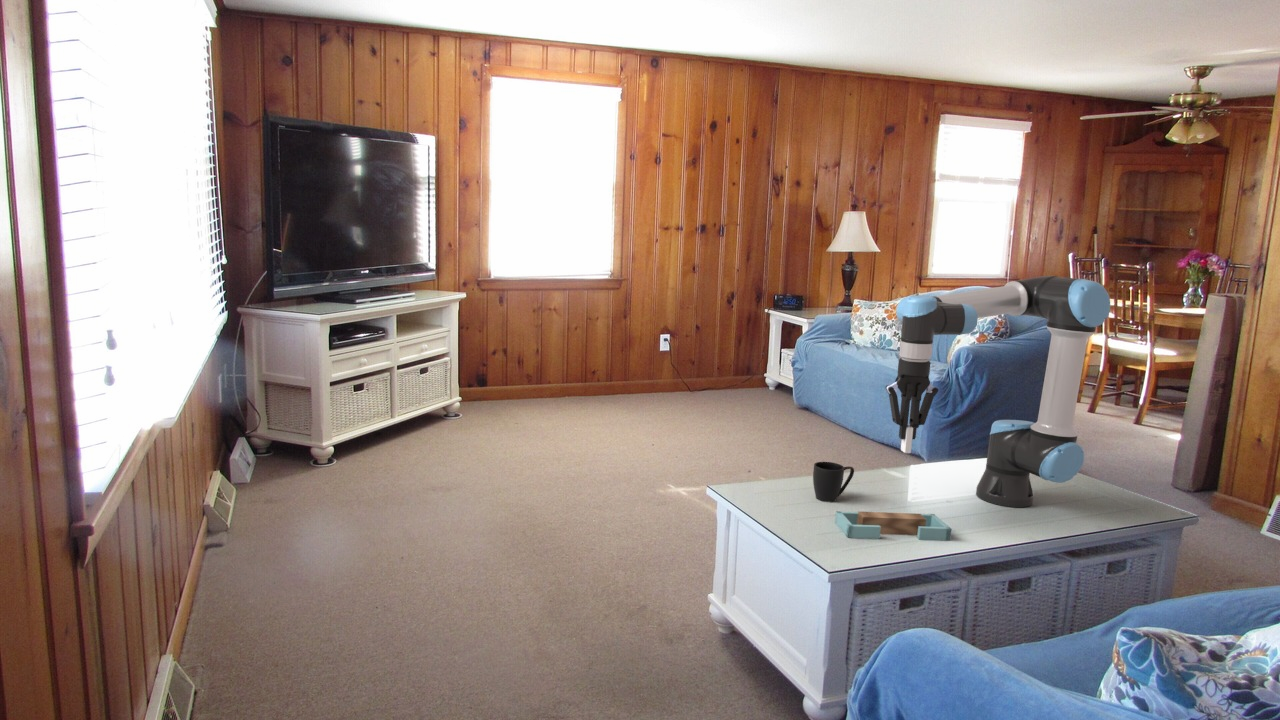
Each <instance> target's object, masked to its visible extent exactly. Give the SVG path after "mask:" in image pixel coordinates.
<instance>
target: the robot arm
mask: <svg viewBox="0 0 1280 720" xmlns="http://www.w3.org/2000/svg"><path fill="white" fill-rule="evenodd" d="M1110 311H1111V298H1110V295H1109V293H1108V290H1106V289H1105V287H1104V285H1102V284H1101V283H1099V282H1097V281H1094V280H1089V279H1085V278H1074V277H1063V276H1056V275H1044V276H1043V275H1042V276H1036V277H1030V278H1025V279H1024V278H1023V279H1018V280H1012V281H1009V282H1007V283H1005V285H1004V286H1003V285H1002V286H995V287H989V288H983V289H975V290H969V291H962V292H954V293H948V294H946V293H945V294H940V295H934V296H928V295H909V296H906V297H903V298H902V299H901V300H900V301H899V302H898V304H897V305H896V317H897V320H898V321H899V322H900V323H901V334H900V335H901V336H900V344H899V354H898V355H899V357H900V358H899V359H898V362H897V363H898V364H897V365H898V366H897V376H896V378H895V380H894V382H893V383H892V384H890V385H889V384H887V385H885V390H886V392H887V393H888V397H889V405H890V412H891V419H892V422H893V423H895V425H898V426H899V430H898V437H899V439H901V443H900V445H901V446H900V451H901V452H903V454H911V453H912V445H913V440H915V439H916V438H917V429H918V428H919V426H924V425H925V424H926V420H927V418H928V415H929V413H930V409H931V406H932V404H933V401H934V398H935V397H936V395H937V394H938V392H939V388H938V387H936V386H933V385H932V384H931V380H930V373H931V372H930V371H931V363H932V362H931V361H930V360H931V359H932V353H933V343H934V336H938V335H941V336H943V335H947V336H950V335H951V336H952V335H954V336H956V335H957V336H961V335H968V334H970V333H972V332H974V331H975V329H976V328H977V326H978V319H980V318H988V317H993V316H1000V315H1007V314H1008V315H1010V316H1012V317H1019V316H1027V317H1028V316H1031V317H1038V318H1042V319H1047V323H1046V328H1047V330H1048V331H1049V332H1050V334H1051V336H1050V344H1049V348H1048V349H1049V350H1048V354H1047V362H1046V368H1045V374H1044V381H1043V386H1042V392H1041V396H1040V397H1041V398H1040V403H1039V409H1038V410H1039V411H1038V415H1037V421H1036V422H1034V421H1030V420H1029V421H1028V420H1021V419H1019V420H1018V419H998V420H995V421H994V422H993V423H992V424H991V429H990V433H989V438H988V446H987V447H988V448H987V456H986V464H985V465H986V466H985V469H984V472H983V474H982V476H981V477H980V480H979V482H978V483H977V485H976V490H975V495H976V496H977V497H978V498H979V499H980V500H983V501H985V502H987V503H991V504H994V505H998V506H1003V507H1009V508H1026V507H1030V506H1032V505H1033V502H1034V492H1033V488H1032V483H1031V478H1030V475H1034V476H1036V477H1039V478H1041V479H1043V480H1045V481H1050V482H1051V483H1056V484H1057V483H1058V484H1061V483H1062V484H1063V483H1066V482H1069V481H1071V480H1072V479H1073V478H1074V477H1075V476H1076V475H1078V473H1079V472H1080V471H1081V469H1082V467H1083V464H1084V461H1085V451H1084V450H1083V447H1082V446H1080V444H1078V443H1077V442H1078V436H1079V435H1078V434H1079V433H1078V432H1077V431H1076V429H1074V419H1075V415H1076V409H1077V401H1078V396H1079V391H1080V386H1081V380H1082V379H1081V378H1082V375H1083V374H1082V373H1083V367H1084V361H1085V355H1086V350H1087V345H1088V344H1087V343H1088V339H1089V338H1090V337H1091V336H1093V335H1095V334H1096V329H1097V327H1099V326H1101V325H1102V324H1104V322H1105V320H1107V318H1109V315H1110ZM898 390H899V392H900V398H901V401H900V402H901V403H900V406H899V398H898V394H897V392H898ZM924 393H925V394H924ZM923 394H924V396H923V398H922V395H923ZM922 399H923V400H922ZM921 401H922V402H921Z"/></svg>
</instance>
